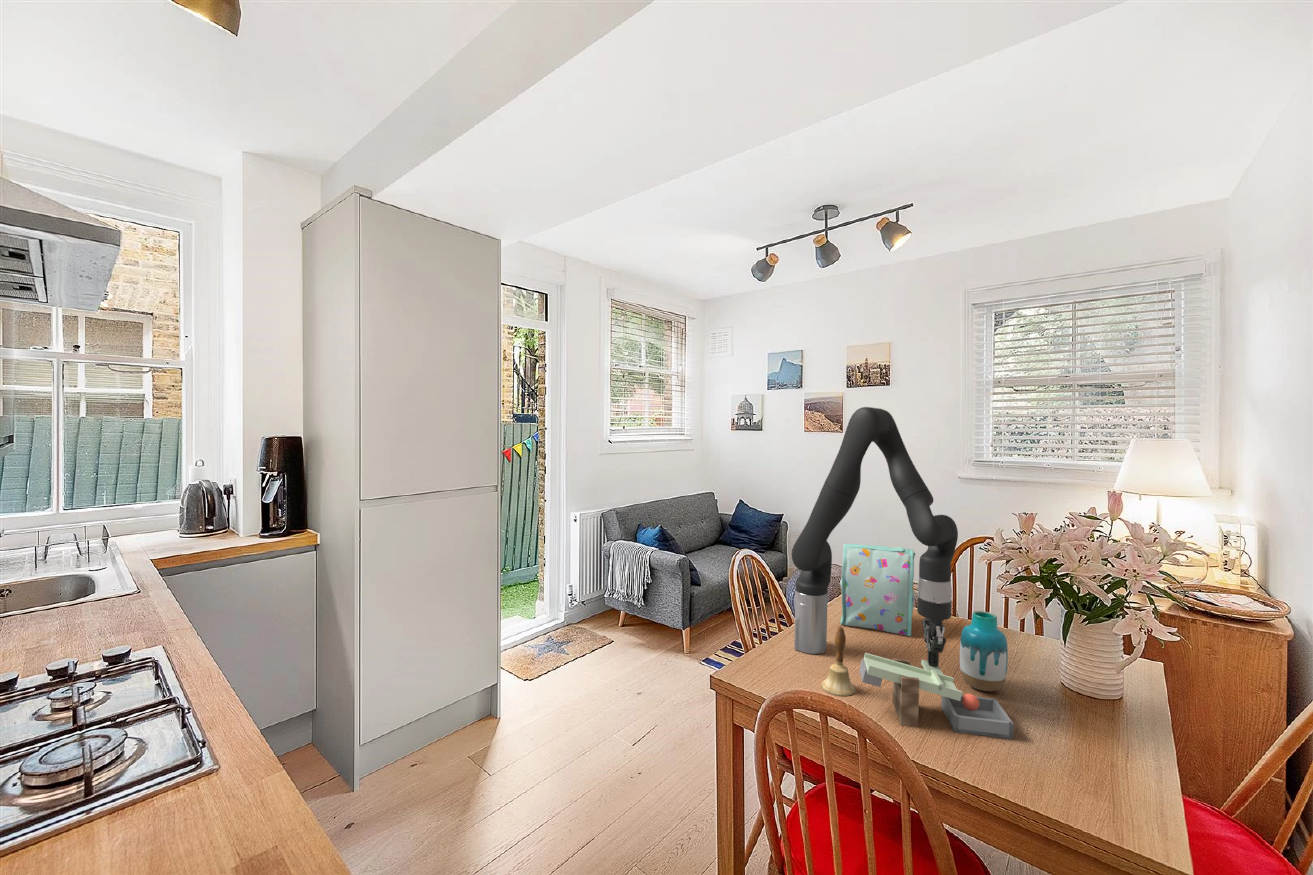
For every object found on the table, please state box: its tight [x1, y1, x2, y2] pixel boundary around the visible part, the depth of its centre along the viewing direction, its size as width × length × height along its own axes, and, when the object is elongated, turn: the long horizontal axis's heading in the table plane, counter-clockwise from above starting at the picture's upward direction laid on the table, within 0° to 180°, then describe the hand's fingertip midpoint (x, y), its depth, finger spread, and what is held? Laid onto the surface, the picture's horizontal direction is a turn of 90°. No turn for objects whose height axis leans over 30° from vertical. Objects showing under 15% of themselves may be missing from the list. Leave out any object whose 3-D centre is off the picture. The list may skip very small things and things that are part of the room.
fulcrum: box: [891, 658, 920, 728], centre depth 129 cm, size 4×10×11 cm, turn 167°
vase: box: [959, 610, 1009, 692], centre depth 141 cm, size 11×11×19 cm
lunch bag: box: [839, 543, 916, 637], centre depth 183 cm, size 23×16×27 cm
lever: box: [858, 652, 963, 701], centre depth 133 cm, size 20×16×5 cm
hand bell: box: [821, 626, 856, 697], centre depth 141 cm, size 8×8×16 cm
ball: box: [962, 693, 979, 711], centre depth 126 cm, size 4×4×4 cm
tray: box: [940, 694, 1015, 740], centre depth 126 cm, size 12×11×4 cm
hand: (932, 665), depth 137 cm, fingers closed
